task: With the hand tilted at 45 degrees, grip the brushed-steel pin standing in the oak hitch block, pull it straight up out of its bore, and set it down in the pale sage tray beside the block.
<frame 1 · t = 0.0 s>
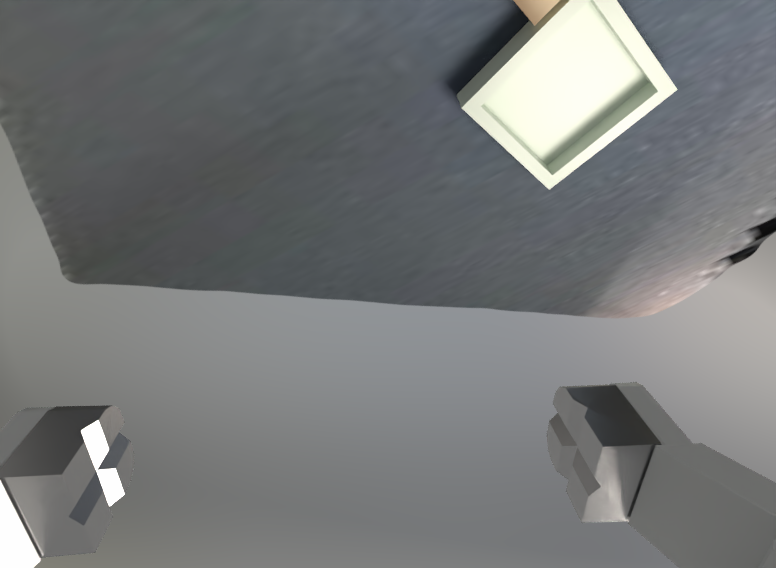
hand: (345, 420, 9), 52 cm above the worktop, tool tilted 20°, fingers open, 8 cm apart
sage tray: (560, 86, 58), on the worktop
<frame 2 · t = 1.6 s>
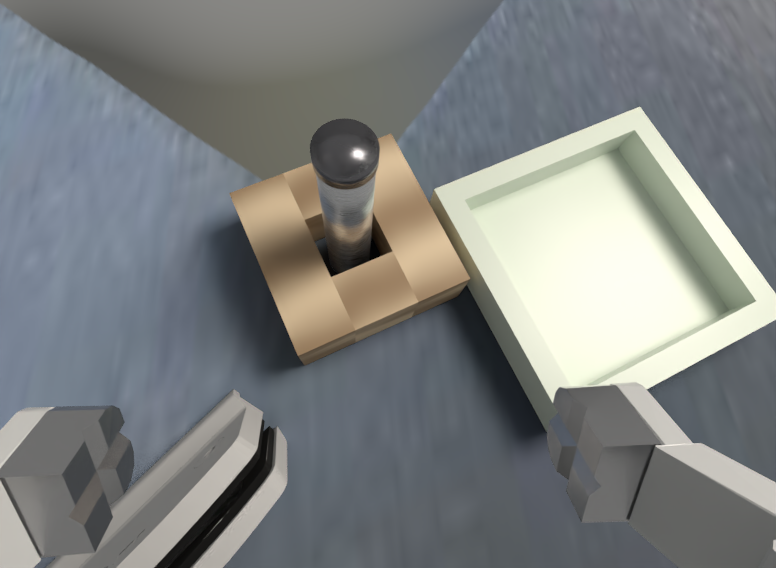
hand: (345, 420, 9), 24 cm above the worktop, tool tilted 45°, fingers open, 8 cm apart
sage tray: (585, 266, 36), on the worktop
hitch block: (349, 257, 35), on the worktop
grey slotted holder: (177, 528, 29), on the worktop
steel pin: (347, 215, 29), in the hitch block
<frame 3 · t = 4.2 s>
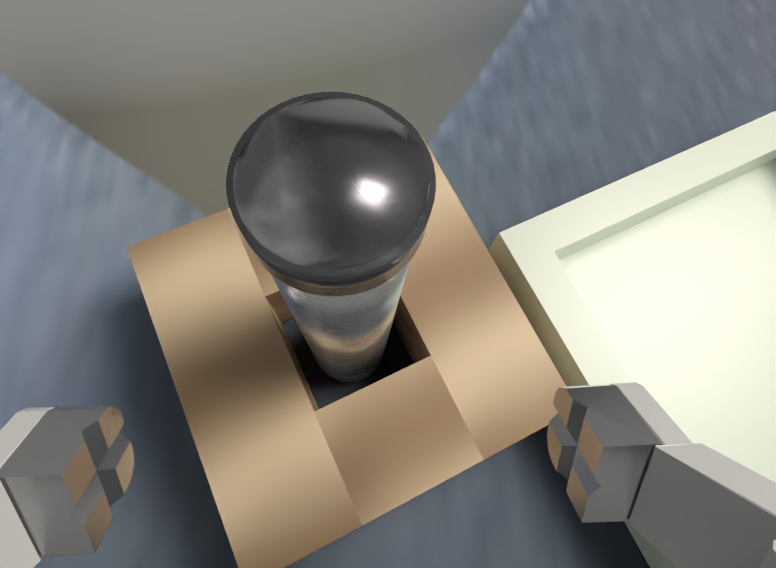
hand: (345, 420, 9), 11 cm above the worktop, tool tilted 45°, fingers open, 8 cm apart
sage tray: (746, 356, 22), on the worktop
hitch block: (349, 346, 21), on the worktop
steel pin: (344, 302, 14), in the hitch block
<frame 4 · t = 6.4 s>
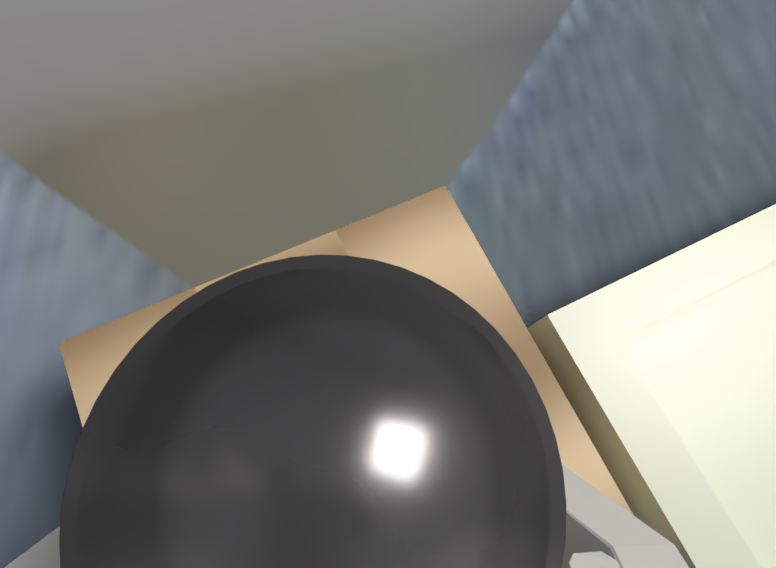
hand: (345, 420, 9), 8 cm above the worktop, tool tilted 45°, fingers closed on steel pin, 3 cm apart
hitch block: (352, 449, 16), on the worktop
steel pin: (348, 455, 10), in the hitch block, touching gripper
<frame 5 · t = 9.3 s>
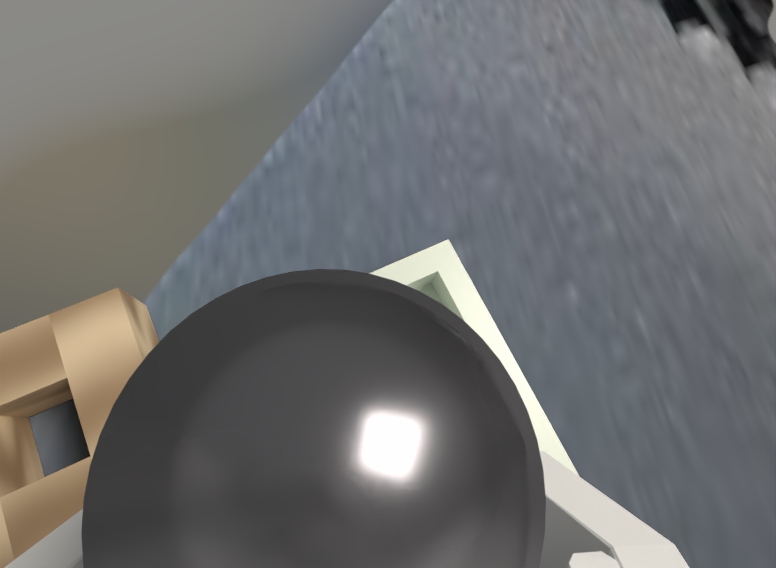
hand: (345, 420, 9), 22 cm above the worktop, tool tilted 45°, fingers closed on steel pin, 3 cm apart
sage tray: (378, 439, 30), on the worktop
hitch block: (76, 435, 28), on the worktop
steel pin: (346, 455, 10), point 20 cm above the worktop, touching gripper
when the fingers open (10 cm above the worktop, at t = 12.1 s): steel pin drops 1 cm, resting on sage tray.
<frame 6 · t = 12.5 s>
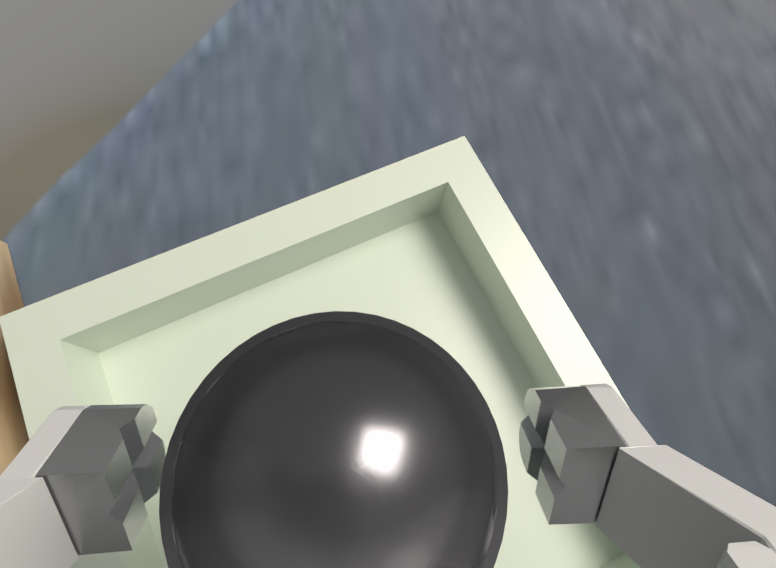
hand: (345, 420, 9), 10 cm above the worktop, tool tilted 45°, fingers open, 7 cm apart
sage tray: (354, 448, 19), on the worktop
steel pin: (348, 455, 11), in the sage tray, point 8 cm above the worktop
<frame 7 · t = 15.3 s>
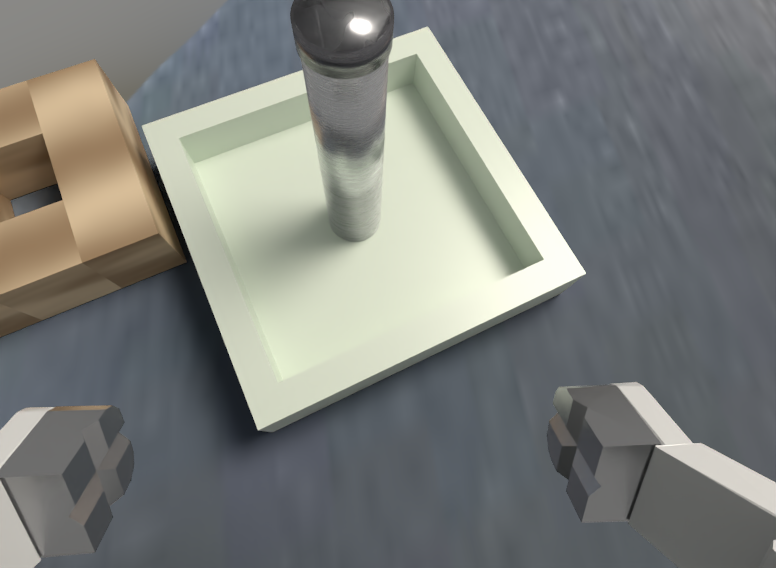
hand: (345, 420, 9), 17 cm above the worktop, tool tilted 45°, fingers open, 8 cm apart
sage tray: (357, 225, 29), on the worktop
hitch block: (56, 216, 28), on the worktop
steel pin: (350, 147, 21), in the sage tray, point 8 cm above the worktop
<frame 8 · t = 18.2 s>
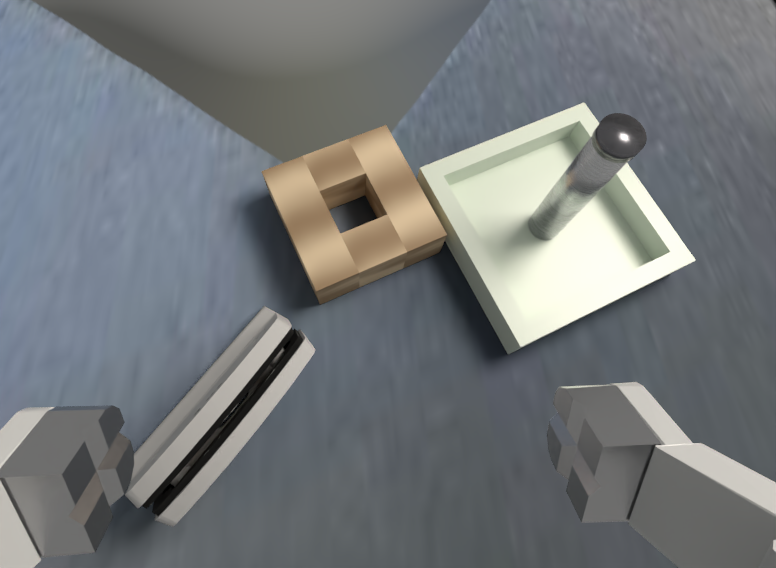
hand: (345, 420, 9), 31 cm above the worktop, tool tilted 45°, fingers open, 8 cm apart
sage tray: (541, 229, 46), on the worktop
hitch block: (353, 222, 45), on the worktop
grey slotted holder: (235, 409, 39), on the worktop
steel pin: (576, 187, 38), in the sage tray, point 8 cm above the worktop
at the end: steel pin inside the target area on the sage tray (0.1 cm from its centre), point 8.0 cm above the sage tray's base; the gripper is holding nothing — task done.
